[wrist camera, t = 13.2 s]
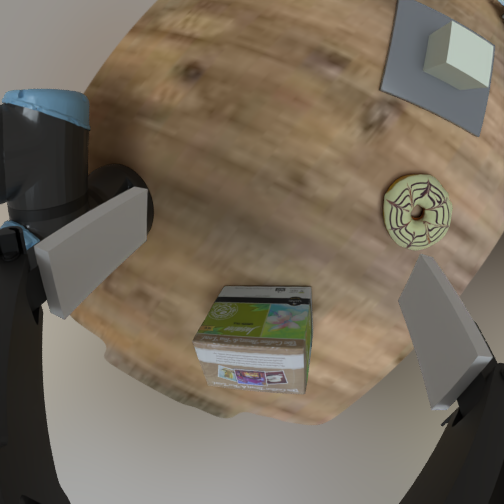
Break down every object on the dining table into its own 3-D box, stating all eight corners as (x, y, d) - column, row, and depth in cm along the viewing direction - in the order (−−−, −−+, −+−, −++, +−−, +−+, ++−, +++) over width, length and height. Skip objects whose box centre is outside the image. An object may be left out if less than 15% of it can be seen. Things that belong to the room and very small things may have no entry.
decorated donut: (429, 159, 33) (438, 163, 30) (452, 223, 36) (462, 233, 33) (368, 191, 38) (373, 198, 34) (396, 252, 40) (402, 264, 37)
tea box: (312, 283, 46) (306, 348, 33) (313, 330, 50) (307, 397, 37) (222, 283, 49) (189, 342, 36) (232, 328, 54) (207, 388, 41)
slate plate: (379, 90, 31) (381, 89, 30) (397, -3, 23) (399, -6, 22) (475, 136, 29) (479, 137, 28) (491, 46, 22) (495, 45, 21)
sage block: (422, 71, 27) (446, 62, 20) (429, 35, 24) (452, 20, 17) (459, 90, 26) (488, 87, 19) (465, 54, 23) (493, 46, 16)
